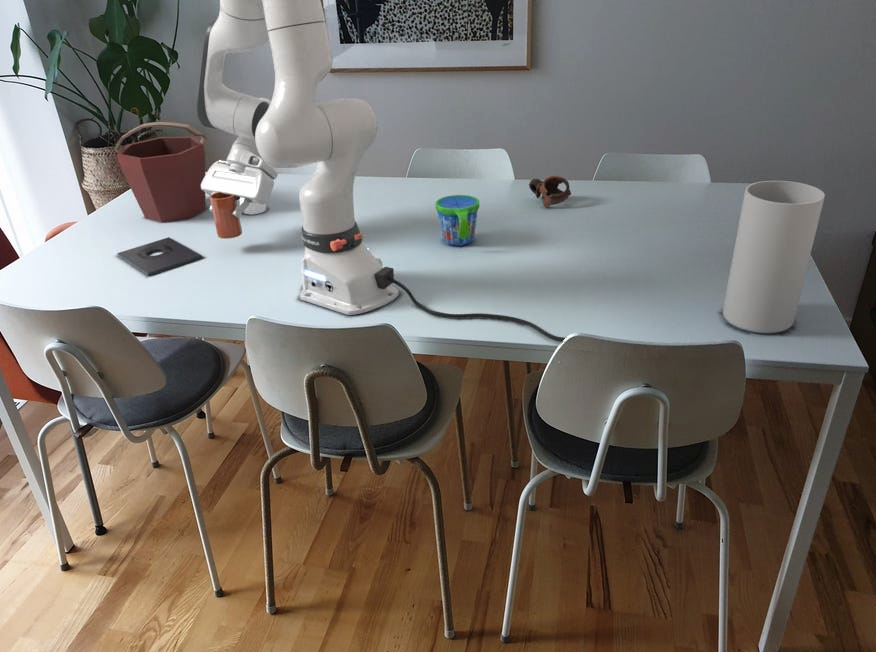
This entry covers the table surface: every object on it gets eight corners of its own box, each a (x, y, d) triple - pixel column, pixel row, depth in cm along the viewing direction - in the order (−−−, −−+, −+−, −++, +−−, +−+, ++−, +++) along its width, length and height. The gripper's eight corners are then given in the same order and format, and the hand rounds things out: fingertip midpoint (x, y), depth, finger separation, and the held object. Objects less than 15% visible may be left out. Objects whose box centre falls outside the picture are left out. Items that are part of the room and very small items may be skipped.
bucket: (230, 199, 218) (213, 113, 205) (199, 227, 199) (178, 133, 186) (154, 199, 222) (133, 114, 209) (116, 225, 204) (91, 134, 191)
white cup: (262, 215, 204) (256, 180, 199) (236, 215, 206) (229, 180, 201) (272, 206, 211) (267, 171, 206) (247, 205, 212) (241, 171, 207)
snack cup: (435, 230, 188) (433, 192, 183) (476, 228, 188) (475, 189, 183) (438, 255, 174) (437, 214, 169) (483, 252, 175) (482, 211, 169)
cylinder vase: (714, 304, 146) (736, 181, 133) (780, 304, 145) (809, 180, 132) (732, 335, 136) (757, 204, 123) (803, 335, 134) (836, 203, 121)
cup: (246, 233, 182) (239, 194, 176) (225, 240, 178) (217, 200, 173) (234, 228, 185) (227, 189, 180) (213, 234, 182) (205, 195, 177)
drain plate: (202, 258, 180) (201, 255, 180) (148, 276, 173) (147, 273, 172) (169, 239, 192) (168, 237, 192) (117, 256, 185) (116, 253, 184)
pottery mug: (572, 199, 204) (577, 178, 197) (560, 223, 200) (564, 203, 193) (532, 184, 207) (536, 163, 200) (519, 208, 203) (522, 188, 196)
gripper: (207, 152, 183) (186, 202, 181) (267, 161, 173) (245, 214, 171) (224, 165, 188) (203, 214, 186) (283, 174, 178) (262, 226, 176)
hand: (224, 214), depth 179 cm, fingers closed on cup, 6 cm apart
